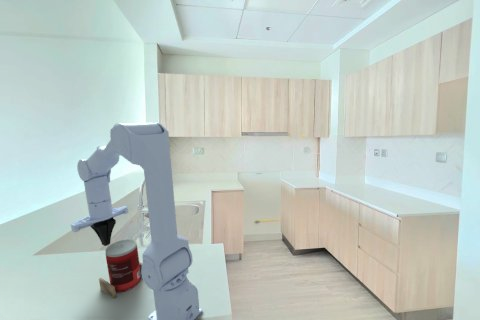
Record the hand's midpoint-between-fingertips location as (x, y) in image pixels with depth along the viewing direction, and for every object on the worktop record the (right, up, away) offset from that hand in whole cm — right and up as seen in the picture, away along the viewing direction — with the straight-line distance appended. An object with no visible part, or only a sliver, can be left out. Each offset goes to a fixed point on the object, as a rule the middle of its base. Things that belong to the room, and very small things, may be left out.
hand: (106, 244), depth 66 cm
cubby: (+7, -10, -3) cm, 12 cm away
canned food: (+8, -10, -3) cm, 13 cm away
